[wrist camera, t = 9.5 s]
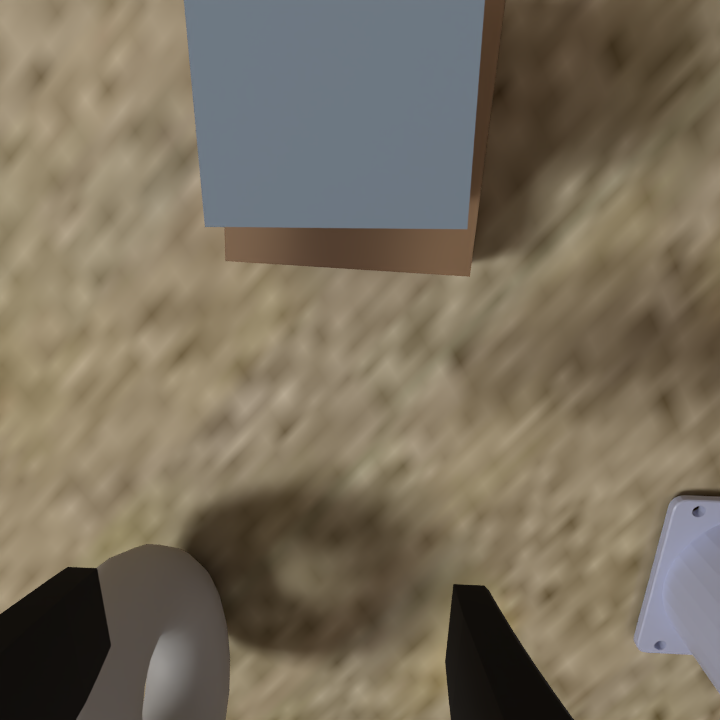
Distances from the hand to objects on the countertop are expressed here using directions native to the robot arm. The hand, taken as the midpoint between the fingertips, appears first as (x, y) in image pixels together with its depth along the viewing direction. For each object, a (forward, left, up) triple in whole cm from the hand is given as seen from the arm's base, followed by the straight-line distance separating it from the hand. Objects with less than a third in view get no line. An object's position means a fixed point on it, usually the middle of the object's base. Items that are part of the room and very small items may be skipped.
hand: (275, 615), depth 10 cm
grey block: (-1, -10, -7) cm, 12 cm away
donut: (+6, +9, -10) cm, 15 cm away
